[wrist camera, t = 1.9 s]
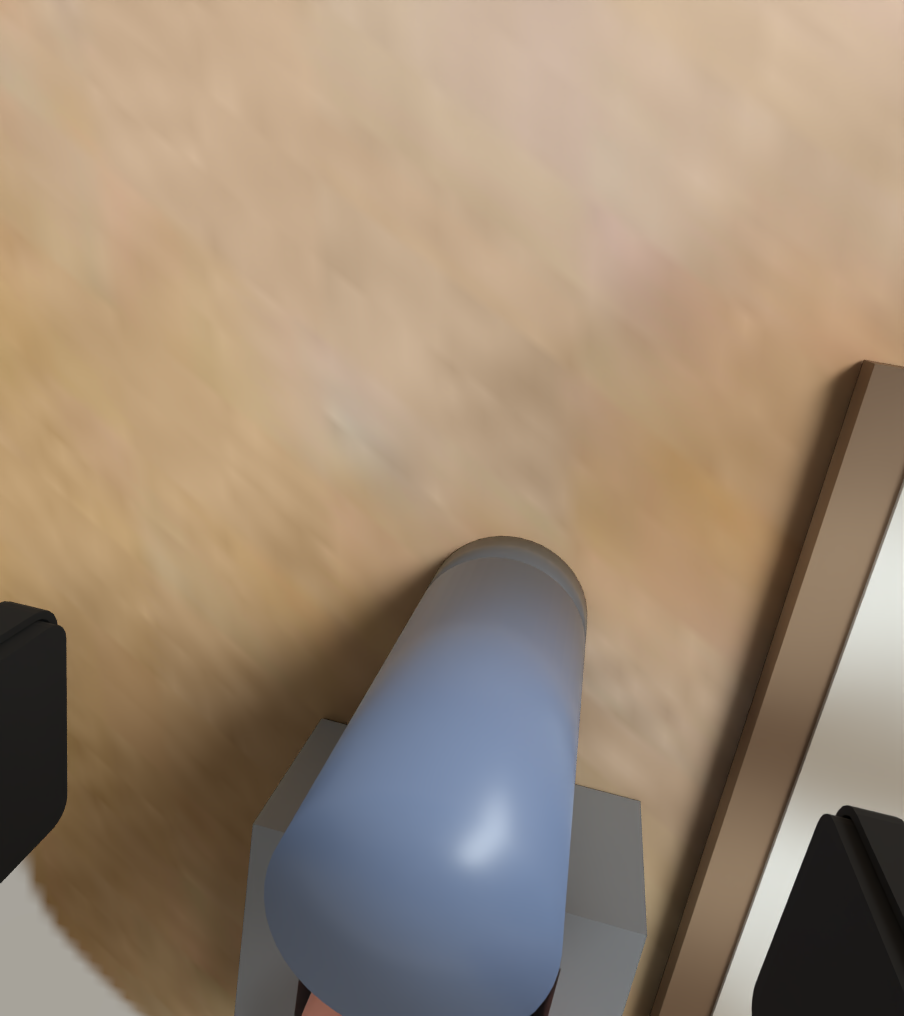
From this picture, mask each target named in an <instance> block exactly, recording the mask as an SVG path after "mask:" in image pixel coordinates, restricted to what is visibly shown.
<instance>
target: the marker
mask: <svg viewBox="0 0 904 1016" xmlns="http://www.w3.org/2000/svg"><path fill="white" fill-rule="evenodd" d="M586 629H587V605H586V599H585V596H584V592H583V590H582V587H581V585H580V583H579V581H578V579H577V577H576V576H575V574H574V573H573V571H572V570H571V569H570V567H569V566H568V565H567V564H566V563H565V562H564V561H563V560H562V559H561V558H560V557H559V556H557V555H556V554H555V553H553V552H552V551H551V550H549V549H547V548H545V547H544V546H542V545H540V544H537V543H535V542H532V541H529V540H526V539H522V538H517V537H511V536H496V537H488V538H483V539H479V540H476V541H473V542H471V543H468V544H467V545H465V546H463V547H461V548H459V549H458V550H457V551H455V552H454V553H452V554H451V555H450V556H449V557H448V558H447V559H446V560H445V561H444V563H443V564H442V565H441V567H440V568H439V569H438V571H437V573H436V575H435V576H434V578H433V580H432V581H431V583H430V585H429V587H428V588H427V590H426V592H425V593H424V595H423V597H422V599H421V600H420V602H419V604H418V605H417V607H416V609H415V611H414V612H413V614H412V616H411V617H410V619H409V621H408V623H407V624H406V626H405V628H404V629H403V631H402V633H401V635H400V636H399V638H398V640H397V641H396V643H395V645H394V647H393V648H392V650H391V652H390V653H389V655H388V657H387V659H386V660H385V662H384V664H383V665H382V667H381V669H380V671H379V672H378V674H377V676H376V677H375V679H374V681H373V683H372V684H371V686H370V688H369V689H368V691H367V693H366V695H365V696H364V698H363V700H362V701H361V703H360V705H359V706H358V708H357V710H356V712H355V713H354V715H353V717H352V718H351V720H350V722H349V724H348V725H347V727H346V729H345V730H344V732H343V734H342V736H341V737H340V739H339V741H338V742H337V744H336V746H335V748H334V749H333V751H332V753H331V754H330V756H329V758H328V760H327V761H326V763H325V765H324V766H323V768H322V770H321V772H320V773H319V775H318V777H317V778H316V780H315V782H314V784H313V785H312V787H311V789H310V790H309V792H308V794H307V796H306V797H305V799H304V801H303V802H302V804H301V806H300V808H299V809H298V811H297V813H296V814H295V816H294V818H293V820H292V821H291V823H290V825H289V826H288V828H287V830H286V832H285V833H284V835H283V837H282V838H281V840H280V842H279V844H278V845H277V847H276V849H275V851H274V852H273V854H272V857H271V859H270V862H269V865H268V868H267V872H266V877H265V882H264V904H265V912H266V917H267V921H268V925H269V928H270V932H271V934H272V936H273V939H274V941H275V944H276V946H277V948H278V950H279V951H280V953H281V955H282V957H283V958H284V960H285V962H286V963H287V964H288V966H289V967H290V969H291V970H292V971H293V973H294V974H295V975H296V976H297V978H298V979H299V980H300V981H301V982H302V983H303V984H304V985H305V986H306V987H307V989H309V990H310V991H311V992H312V993H313V994H314V995H315V996H316V997H317V998H319V999H320V1000H321V1001H322V1002H323V1003H325V1004H326V1005H327V1006H329V1007H330V1008H331V1009H333V1010H334V1011H336V1012H337V1013H339V1014H340V1015H342V1016H530V1015H531V1014H533V1013H534V1012H535V1011H536V1010H537V1009H538V1007H539V1006H540V1005H541V1004H542V1003H543V1001H544V1000H545V999H546V997H547V996H548V994H549V992H550V991H551V989H552V987H553V985H554V983H555V980H556V977H557V975H558V972H559V968H560V962H561V957H562V947H563V934H564V921H565V907H566V894H567V881H568V868H569V854H570V841H571V828H572V815H573V801H574V788H575V775H576V761H577V748H578V735H579V722H580V708H581V695H582V682H583V669H584V655H585V642H586Z"/></svg>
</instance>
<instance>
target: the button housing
mask: <svg viewBox="0 0 904 1016" xmlns="http://www.w3.org/2000/svg"><path fill="white" fill-rule="evenodd" d="M346 727H347V725H345V724H341V723H338V722H334V721H330V720H326V719H321V720H320V722H319V723H318V725H317V726H316V728H315V729H314V731H313V732H312V734H311V735H310V737H309V739H308V740H307V742H306V743H305V745H304V746H303V748H302V749H301V751H300V752H299V754H298V755H297V757H296V759H295V760H294V762H293V763H292V765H291V766H290V768H289V769H288V771H287V772H286V774H285V775H284V777H283V778H282V780H281V782H280V783H279V785H278V786H277V788H276V789H275V791H274V792H273V794H272V795H271V797H270V798H269V800H268V802H267V803H266V805H265V806H264V808H263V809H262V811H261V812H260V814H259V815H258V817H257V818H256V820H255V821H254V823H253V829H252V839H251V849H250V860H249V870H248V880H247V891H246V901H245V911H244V921H243V932H242V942H241V952H240V962H239V973H238V983H237V993H236V1004H235V1014H234V1016H301V1015H302V1013H303V1011H304V1008H305V1006H306V1004H307V1001H308V999H309V996H310V994H311V991H310V990H309V989H307V987H306V986H305V985H304V984H303V983H302V982H301V981H300V980H299V979H298V978H297V976H296V975H295V974H294V973H293V971H292V970H291V969H290V967H289V966H288V964H287V963H286V962H285V960H284V958H283V957H282V955H281V953H280V951H279V950H278V948H277V946H276V944H275V941H274V939H273V936H272V934H271V932H270V928H269V925H268V921H267V917H266V912H265V904H264V882H265V877H266V872H267V868H268V865H269V862H270V859H271V857H272V854H273V852H274V851H275V849H276V847H277V845H278V844H279V842H280V840H281V838H282V837H283V835H284V833H285V832H286V830H287V828H288V826H289V825H290V823H291V821H292V820H293V818H294V816H295V814H296V813H297V811H298V809H299V808H300V806H301V804H302V802H303V801H304V799H305V797H306V796H307V794H308V792H309V790H310V789H311V787H312V785H313V784H314V782H315V780H316V778H317V777H318V775H319V773H320V772H321V770H322V768H323V766H324V765H325V763H326V761H327V760H328V758H329V756H330V754H331V753H332V751H333V749H334V748H335V746H336V744H337V742H338V741H339V739H340V737H341V736H342V734H343V732H344V730H345V729H346ZM646 937H647V925H646V905H645V885H644V865H643V845H642V825H641V804H640V801H637V800H633V799H629V798H625V797H621V796H618V795H614V794H610V793H606V792H602V791H598V790H595V789H591V788H587V787H583V786H579V785H575V788H574V801H573V815H572V828H571V841H570V854H569V868H568V881H567V894H566V907H565V921H564V934H563V947H562V957H561V962H560V968H559V972H558V975H557V977H556V980H555V983H554V985H553V987H552V989H551V991H550V992H549V994H548V996H547V997H546V999H545V1000H544V1001H543V1003H542V1004H541V1005H540V1006H539V1007H538V1009H537V1010H536V1011H535V1012H534V1013H533V1014H531V1015H530V1016H622V1014H623V1011H624V1008H625V1005H626V1001H627V998H628V995H629V992H630V989H631V985H632V982H633V979H634V976H635V973H636V969H637V966H638V963H639V960H640V956H641V953H642V950H643V947H644V944H645V940H646Z"/></svg>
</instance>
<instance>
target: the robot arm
mask: <svg viewBox="0 0 904 1016" xmlns="http://www.w3.org/2000/svg"><path fill="white" fill-rule="evenodd" d="M66 802H67V678H66V633H65V631H64V629H63V628H62V627H61V626H59V625H57V620H56V618H55V616H54V614H53V613H51V612H50V611H47V610H43V609H39V608H35V607H31V606H26V605H22V604H18V603H14V602H6V601H4V602H1V603H0V883H1V882H2V881H3V880H4V879H5V878H6V877H7V876H8V875H9V874H10V873H11V872H12V871H13V870H14V869H15V868H16V867H17V866H18V865H19V864H20V862H21V861H22V860H23V859H24V858H25V857H26V856H27V855H28V854H29V853H30V852H31V851H32V850H33V849H34V848H35V847H36V846H37V845H38V844H39V843H40V842H41V841H42V840H43V838H44V837H45V836H46V835H47V834H48V833H49V832H50V831H51V830H52V829H53V828H54V827H55V825H56V824H57V823H58V821H59V819H60V818H61V816H62V814H63V811H64V809H65V805H66ZM751 1008H752V1016H904V821H903V820H902V819H900V818H898V817H895V816H891V815H887V814H883V813H879V812H875V811H870V810H866V809H862V808H858V807H854V806H850V805H845V806H842V807H841V808H840V809H839V810H838V811H837V813H836V815H831V814H823V815H822V816H821V817H820V819H819V821H818V823H817V825H816V828H815V830H814V833H813V836H812V838H811V841H810V843H809V846H808V848H807V851H806V854H805V856H804V859H803V861H802V864H801V867H800V869H799V872H798V874H797V877H796V880H795V882H794V885H793V887H792V890H791V892H790V895H789V898H788V900H787V903H786V905H785V908H784V911H783V913H782V916H781V918H780V921H779V923H778V926H777V929H776V931H775V934H774V936H773V939H772V942H771V944H770V947H769V949H768V952H767V955H766V957H765V960H764V962H763V965H762V967H761V970H760V973H759V975H758V978H757V980H756V983H755V986H754V990H753V996H752V1007H751Z"/></svg>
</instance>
